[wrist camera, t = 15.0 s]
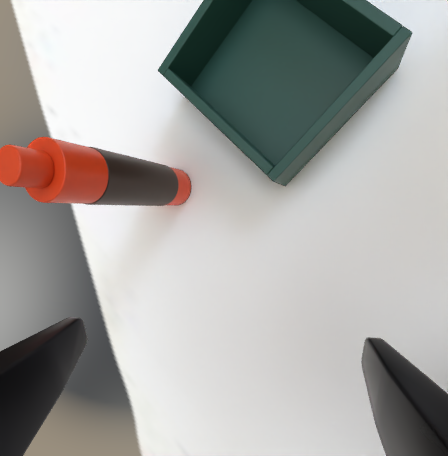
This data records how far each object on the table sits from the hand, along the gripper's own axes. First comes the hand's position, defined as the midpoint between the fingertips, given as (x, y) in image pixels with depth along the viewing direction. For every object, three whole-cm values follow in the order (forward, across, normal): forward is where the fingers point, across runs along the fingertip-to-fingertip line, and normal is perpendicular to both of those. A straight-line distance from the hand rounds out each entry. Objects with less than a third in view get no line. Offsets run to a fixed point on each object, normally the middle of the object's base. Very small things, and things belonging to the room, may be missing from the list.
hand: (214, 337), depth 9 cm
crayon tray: (+16, -2, -9) cm, 18 cm away
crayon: (+16, +6, -1) cm, 17 cm away
